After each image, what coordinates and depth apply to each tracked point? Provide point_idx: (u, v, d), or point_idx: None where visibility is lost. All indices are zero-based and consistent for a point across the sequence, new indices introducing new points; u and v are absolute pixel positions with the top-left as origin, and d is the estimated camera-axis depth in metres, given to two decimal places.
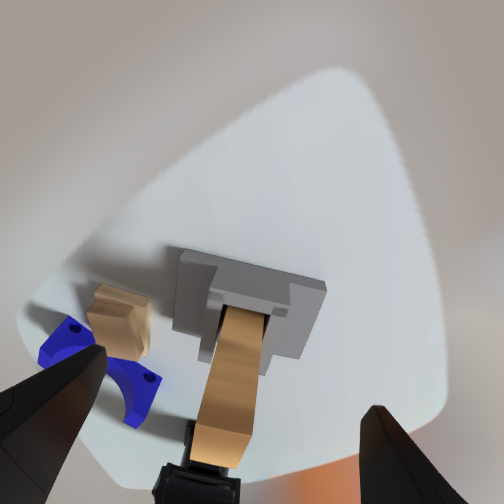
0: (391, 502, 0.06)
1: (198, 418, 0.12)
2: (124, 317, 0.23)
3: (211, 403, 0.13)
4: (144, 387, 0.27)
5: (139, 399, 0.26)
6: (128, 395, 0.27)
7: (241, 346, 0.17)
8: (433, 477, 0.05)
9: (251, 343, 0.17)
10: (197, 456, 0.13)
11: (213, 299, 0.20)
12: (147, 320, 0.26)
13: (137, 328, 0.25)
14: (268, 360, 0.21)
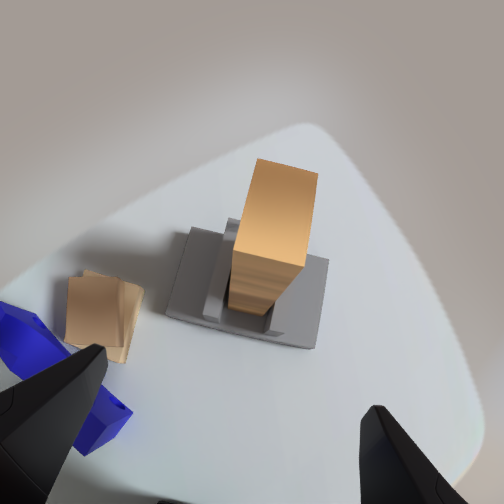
0: (391, 502, 0.06)
1: None
2: None
3: None
4: (109, 405, 0.18)
5: (101, 408, 0.16)
6: None
7: None
8: (433, 477, 0.05)
9: None
10: (247, 237, 0.11)
11: (231, 230, 0.21)
12: (135, 311, 0.22)
13: (122, 310, 0.20)
14: (288, 306, 0.19)
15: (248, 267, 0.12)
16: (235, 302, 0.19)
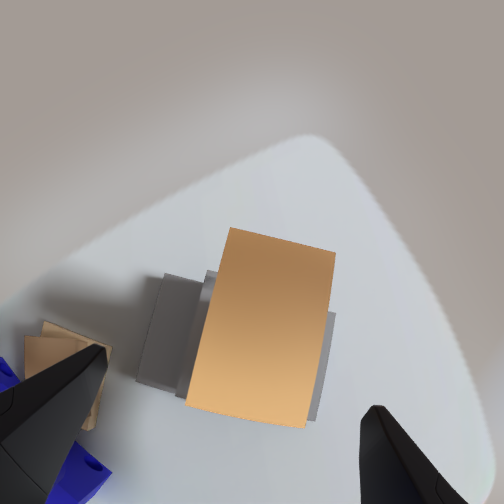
0: (391, 502, 0.06)
1: None
2: (73, 339, 0.15)
3: None
4: (83, 469, 0.13)
5: (73, 477, 0.11)
6: None
7: None
8: (433, 477, 0.05)
9: None
10: (208, 383, 0.06)
11: (210, 287, 0.16)
12: None
13: None
14: None
15: None
16: None
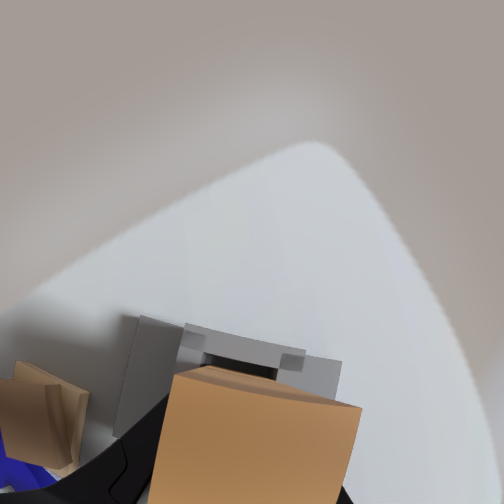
0: None
1: (182, 373, 0.04)
2: (42, 384, 0.12)
3: (213, 377, 0.05)
4: None
5: None
6: None
7: (245, 376, 0.09)
8: None
9: (261, 379, 0.09)
10: None
11: (189, 344, 0.12)
12: (79, 421, 0.13)
13: (62, 421, 0.12)
14: None
15: None
16: None
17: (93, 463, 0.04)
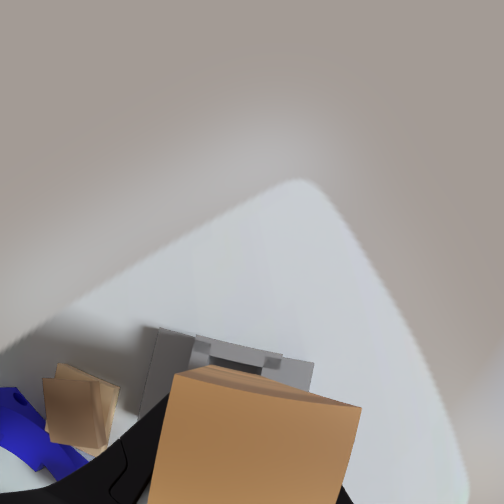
0: None
1: (182, 373, 0.04)
2: (87, 381, 0.17)
3: (213, 377, 0.05)
4: None
5: None
6: None
7: (245, 376, 0.09)
8: None
9: (261, 379, 0.09)
10: None
11: (199, 350, 0.17)
12: (111, 410, 0.18)
13: (100, 410, 0.17)
14: None
15: None
16: None
17: (93, 463, 0.04)
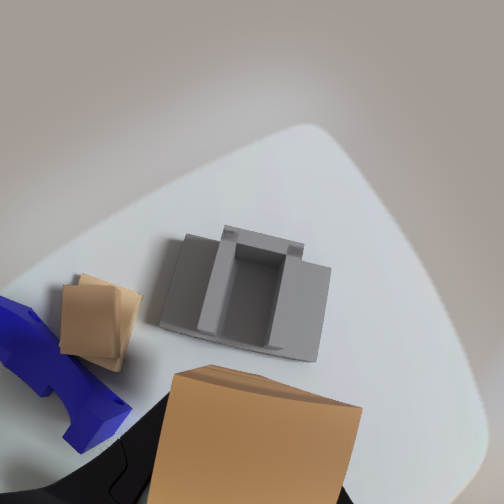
0: None
1: (182, 373, 0.04)
2: (111, 285, 0.19)
3: (213, 377, 0.05)
4: (107, 400, 0.17)
5: (98, 403, 0.15)
6: (79, 409, 0.16)
7: (245, 376, 0.09)
8: None
9: (262, 379, 0.09)
10: None
11: (227, 238, 0.19)
12: (132, 319, 0.21)
13: (119, 320, 0.20)
14: (288, 320, 0.18)
15: None
16: None
17: (93, 463, 0.04)
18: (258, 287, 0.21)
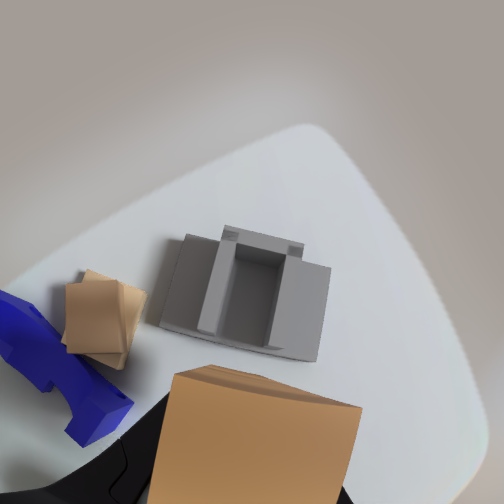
0: None
1: (182, 373, 0.04)
2: (114, 280, 0.19)
3: (213, 377, 0.05)
4: (109, 394, 0.17)
5: (100, 396, 0.15)
6: (81, 403, 0.16)
7: (246, 376, 0.09)
8: None
9: (262, 379, 0.09)
10: None
11: (227, 238, 0.19)
12: (137, 317, 0.21)
13: (123, 315, 0.20)
14: (288, 320, 0.18)
15: None
16: None
17: (93, 463, 0.04)
18: (258, 287, 0.21)
